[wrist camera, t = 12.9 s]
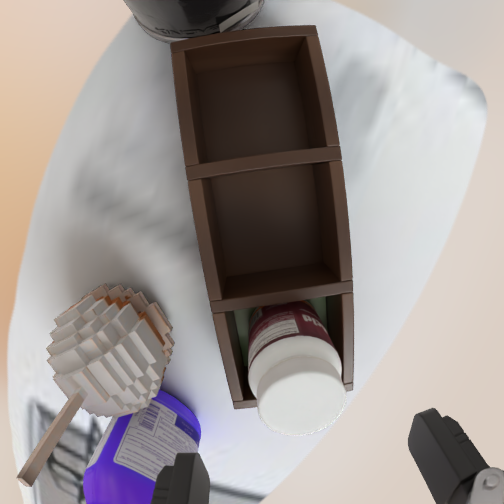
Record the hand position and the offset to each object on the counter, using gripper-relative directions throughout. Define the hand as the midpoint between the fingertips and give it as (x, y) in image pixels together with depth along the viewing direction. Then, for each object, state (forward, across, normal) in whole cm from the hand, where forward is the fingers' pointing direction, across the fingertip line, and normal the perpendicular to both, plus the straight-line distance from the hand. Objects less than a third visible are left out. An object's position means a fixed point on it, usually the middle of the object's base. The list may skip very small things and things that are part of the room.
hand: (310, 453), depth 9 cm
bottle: (+12, +11, +8) cm, 19 cm away
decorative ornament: (+13, +12, 0) cm, 17 cm away
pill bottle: (+12, 0, +1) cm, 12 cm away
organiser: (+13, 0, -6) cm, 14 cm away
